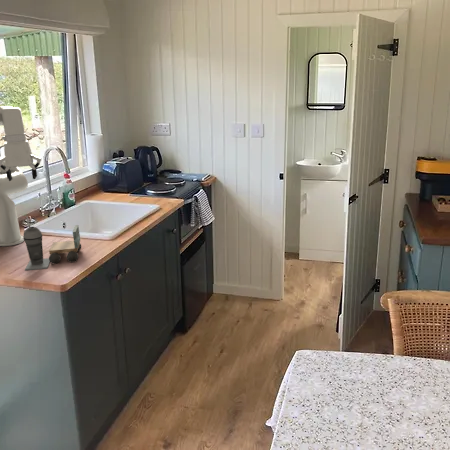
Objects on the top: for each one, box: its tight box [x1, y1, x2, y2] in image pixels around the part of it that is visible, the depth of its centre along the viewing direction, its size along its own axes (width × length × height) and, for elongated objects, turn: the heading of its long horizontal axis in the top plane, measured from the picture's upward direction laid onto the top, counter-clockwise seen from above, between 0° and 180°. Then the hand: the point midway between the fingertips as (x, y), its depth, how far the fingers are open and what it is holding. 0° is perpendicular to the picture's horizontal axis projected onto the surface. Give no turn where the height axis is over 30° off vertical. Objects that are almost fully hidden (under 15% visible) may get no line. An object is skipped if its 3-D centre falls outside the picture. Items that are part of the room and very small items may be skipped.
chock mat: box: [24, 257, 51, 271], centre depth 203 cm, size 9×10×1 cm
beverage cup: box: [22, 216, 44, 265], centre depth 200 cm, size 7×7×20 cm
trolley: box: [48, 224, 82, 265], centre depth 208 cm, size 12×13×12 cm
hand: (22, 179), depth 208 cm, fingers open, 9 cm apart
